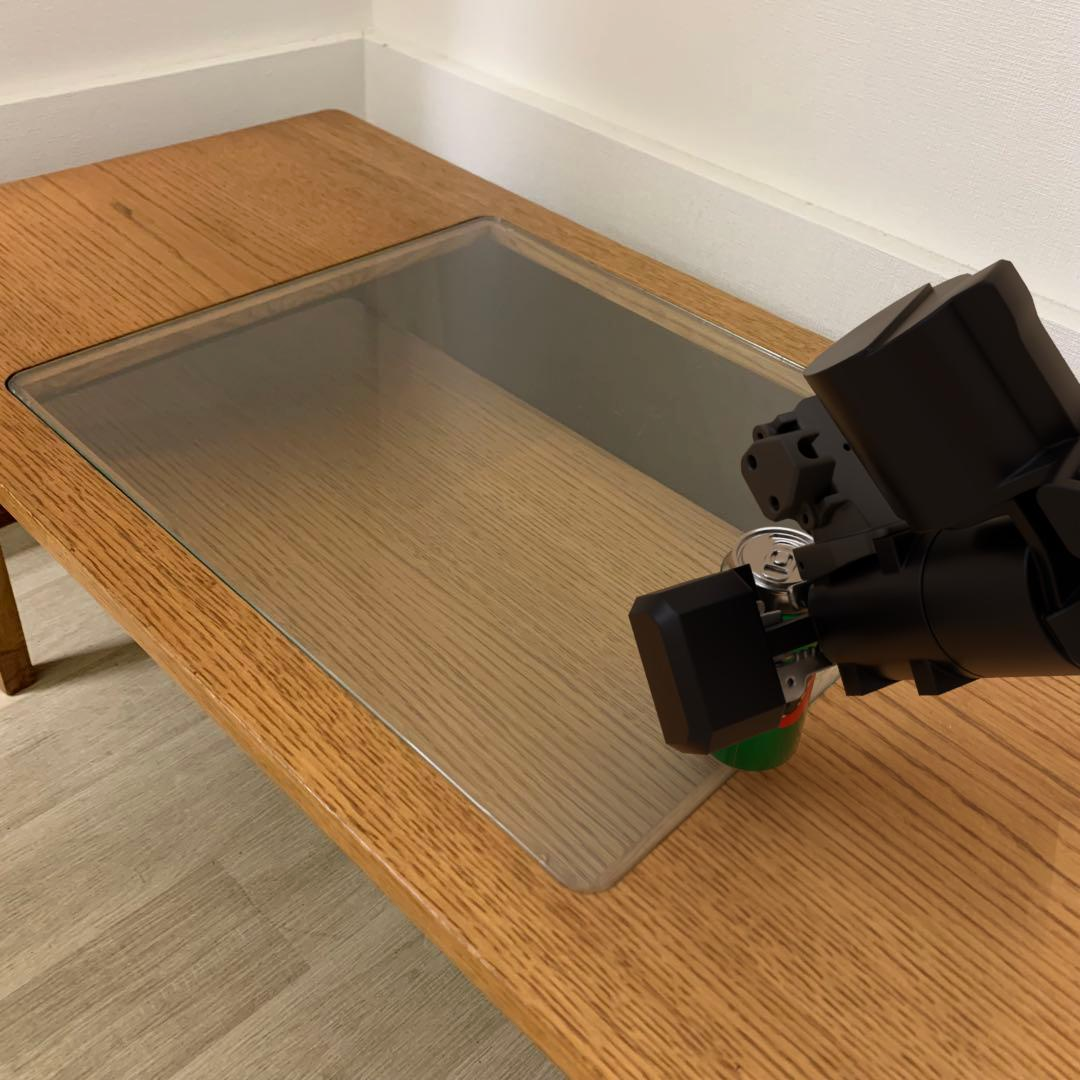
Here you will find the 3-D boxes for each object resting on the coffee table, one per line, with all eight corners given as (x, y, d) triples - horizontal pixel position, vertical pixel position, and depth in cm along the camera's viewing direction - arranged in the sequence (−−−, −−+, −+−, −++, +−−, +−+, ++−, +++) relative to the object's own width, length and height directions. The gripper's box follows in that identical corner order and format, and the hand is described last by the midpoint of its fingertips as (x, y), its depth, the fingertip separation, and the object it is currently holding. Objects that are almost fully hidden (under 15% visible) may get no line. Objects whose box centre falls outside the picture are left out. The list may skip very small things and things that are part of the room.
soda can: (808, 718, 57) (853, 539, 49) (782, 793, 54) (826, 612, 46) (713, 687, 59) (742, 508, 51) (681, 757, 55) (707, 577, 48)
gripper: (1105, 323, 43) (848, 418, 57) (694, 426, 35) (518, 505, 50) (1192, 606, 42) (911, 630, 57) (796, 770, 35) (589, 750, 49)
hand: (743, 623), depth 53 cm, fingers closed on soda can, 5 cm apart
